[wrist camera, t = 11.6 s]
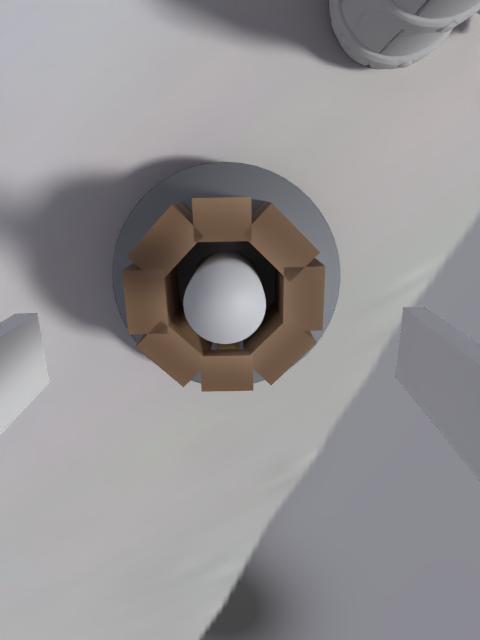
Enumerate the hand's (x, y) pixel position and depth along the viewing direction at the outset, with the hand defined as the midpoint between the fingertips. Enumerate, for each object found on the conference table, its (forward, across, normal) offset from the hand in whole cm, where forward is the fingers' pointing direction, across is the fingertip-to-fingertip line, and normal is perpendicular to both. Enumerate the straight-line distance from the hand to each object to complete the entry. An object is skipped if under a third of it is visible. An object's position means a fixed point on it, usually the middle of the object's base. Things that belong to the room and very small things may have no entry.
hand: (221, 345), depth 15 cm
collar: (+13, 0, -1) cm, 13 cm away
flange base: (+15, 0, -1) cm, 15 cm away
